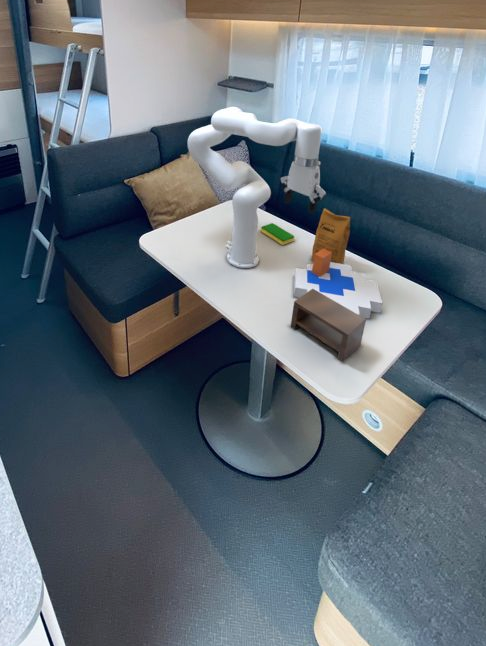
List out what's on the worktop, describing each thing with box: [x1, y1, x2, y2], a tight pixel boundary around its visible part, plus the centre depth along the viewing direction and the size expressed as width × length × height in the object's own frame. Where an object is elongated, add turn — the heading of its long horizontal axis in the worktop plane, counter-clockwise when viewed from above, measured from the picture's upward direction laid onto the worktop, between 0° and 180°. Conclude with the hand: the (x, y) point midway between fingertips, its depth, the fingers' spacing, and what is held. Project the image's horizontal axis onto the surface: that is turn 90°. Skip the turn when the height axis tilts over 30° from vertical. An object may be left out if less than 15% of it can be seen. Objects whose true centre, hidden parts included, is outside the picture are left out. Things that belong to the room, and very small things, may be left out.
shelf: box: [290, 289, 367, 363], centre depth 124 cm, size 18×10×10 cm, turn 40°
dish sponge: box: [260, 222, 295, 246], centre depth 182 cm, size 7×14×2 cm, turn 32°
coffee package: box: [311, 208, 351, 264], centre depth 160 cm, size 10×12×22 cm
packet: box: [312, 249, 332, 277], centre depth 149 cm, size 4×6×8 cm, turn 130°
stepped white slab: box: [293, 262, 383, 319], centre depth 144 cm, size 28×4×28 cm
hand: (299, 206), depth 142 cm, fingers open, 9 cm apart
